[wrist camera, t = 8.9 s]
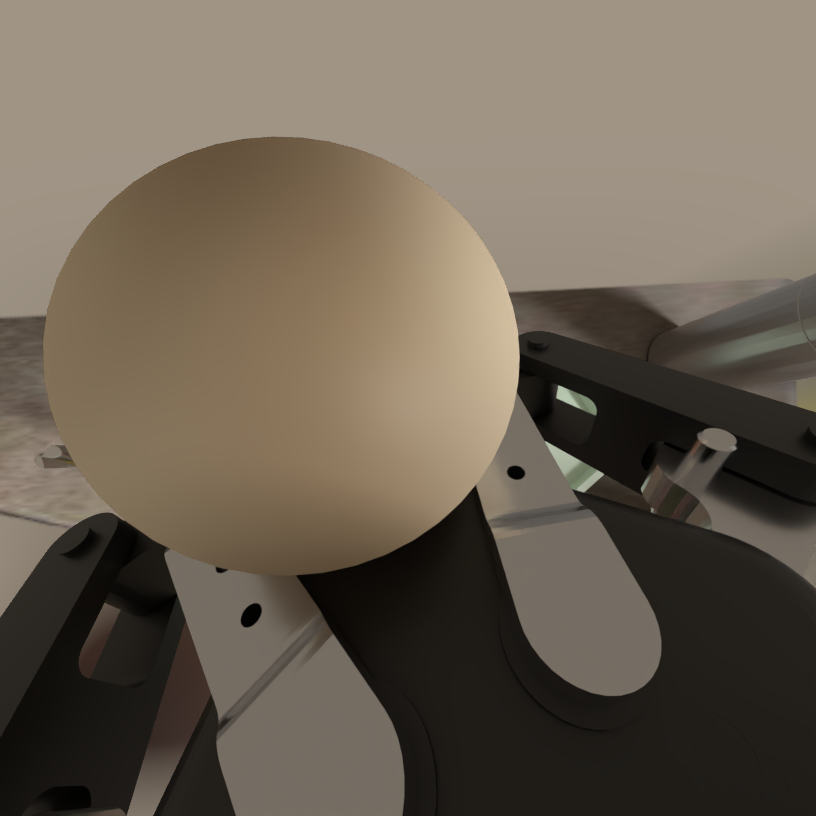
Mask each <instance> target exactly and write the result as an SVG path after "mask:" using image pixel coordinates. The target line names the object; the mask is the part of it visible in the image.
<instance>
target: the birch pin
mask: <svg viewBox="0 0 816 816" xmlns="http://www.w3.org/2000/svg"><path fill="white" fill-rule="evenodd" d="M519 359H520V355H519V341H518V330H517V325H516V320H515V315H514V310H513V306H512V303H511V300H510V297H509V294H508V290H507V287H506V284H505V282H504V280H503V278H502V275H501V273H500V271H499V269H498V267H497V265H496V263H495V261H494V259H493V257H492V256H491V254H490V252H489V251H488V249H487V247H486V246H485V244H484V243H483V241H482V239H481V238H480V237H479V236H478V234H477V233H476V232H475V230H474V229H473V228H472V227H471V225H470V224H469V223H468V222H467V220H466V219H465V218H464V217H463V216H462V215H461V214H460V213H459V212H458V211H457V210H456V209H455V208H454V207H453V206H452V205H451V204H450V203H449V202H448V201H447V200H446V199H445V198H444V197H442V196H441V195H440V194H439V193H437V192H436V191H435V190H434V189H432V188H431V187H430V186H428V185H427V184H426V183H424V182H423V181H421V180H420V179H418V178H417V177H415V176H413V175H412V174H410V173H409V172H407V171H406V170H404V169H402V168H400V167H398V166H396V165H394V164H392V163H390V162H388V161H386V160H384V159H382V158H380V157H377V156H374V155H371V154H369V153H366V152H364V151H361V150H358V149H355V148H352V147H348V146H344V145H340V144H336V143H332V142H327V141H320V140H313V139H306V138H293V137H264V138H251V139H242V140H236V141H231V142H226V143H221V144H216V145H213V146H210V147H206V148H203V149H200V150H197V151H194V152H190V153H188V154H185V155H183V156H181V157H178V158H177V159H174V160H172V161H170V162H168V163H165V164H163V165H161V166H159V167H157V168H156V169H154V170H153V171H151V172H149V173H148V174H146V175H144V176H143V177H141V178H140V179H138V180H136V181H135V182H133V183H132V184H131V185H130V186H128V187H127V188H126V189H125V190H124V191H122V192H121V193H120V194H119V195H117V196H116V197H115V198H114V199H113V200H111V201H110V202H109V203H108V204H107V205H106V207H105V208H104V209H103V210H102V211H101V212H100V213H99V214H98V215H97V216H96V217H95V218H94V219H93V220H92V222H91V223H90V224H89V225H88V226H87V228H86V229H85V231H84V232H83V234H82V235H81V236H80V238H79V239H78V241H77V242H76V244H75V245H74V247H73V248H72V249H71V251H70V253H69V256H68V257H67V259H66V262H65V264H64V266H63V268H62V270H61V272H60V274H59V276H58V278H57V281H56V284H55V287H54V290H53V294H52V297H51V300H50V303H49V307H48V310H47V317H46V324H45V331H44V338H43V366H44V378H45V384H46V389H47V395H48V400H49V406H50V409H51V412H52V415H53V417H54V420H55V423H56V426H57V429H58V431H59V434H60V437H61V439H62V441H63V443H64V445H65V447H66V448H67V450H68V452H69V454H70V456H71V457H72V459H73V461H74V463H75V465H76V467H77V468H78V470H79V471H80V472H81V474H82V475H83V476H84V477H85V479H86V480H87V481H88V483H89V484H90V485H91V486H92V488H93V489H94V490H95V492H96V493H97V494H98V495H99V496H100V497H101V498H102V499H103V500H104V501H105V502H106V503H107V504H108V505H109V506H110V507H111V508H112V509H113V510H114V511H115V512H116V513H117V514H119V515H120V516H121V517H122V518H123V519H124V520H125V521H126V522H128V523H129V524H131V525H132V526H134V527H135V528H137V529H138V530H139V531H141V532H142V533H144V534H145V535H147V536H148V537H149V538H151V539H152V540H154V541H156V542H158V543H160V544H162V545H164V546H166V547H168V548H170V549H172V550H174V551H176V552H178V553H180V554H182V555H184V556H186V557H189V558H192V559H195V560H198V561H201V562H204V563H207V564H210V565H213V566H216V567H219V568H224V569H229V570H235V571H240V572H246V573H251V574H263V575H283V576H292V575H304V574H315V573H324V572H329V571H333V570H338V569H343V568H347V567H352V566H356V565H359V564H361V563H364V562H367V561H370V560H372V559H375V558H378V557H381V556H383V555H386V554H388V553H390V552H392V551H394V550H396V549H398V548H400V547H401V546H403V545H405V544H407V543H409V542H411V541H413V540H415V539H416V538H418V537H419V536H420V535H422V534H423V533H425V532H426V531H428V530H429V529H430V528H432V527H433V526H435V525H436V524H438V523H439V522H440V521H441V520H442V519H443V518H444V517H446V516H447V515H448V514H449V513H450V512H451V511H452V510H453V509H454V508H455V507H457V506H458V505H459V504H460V503H461V502H462V501H463V499H464V498H465V497H466V496H467V495H468V493H469V492H470V491H471V490H472V489H473V487H474V486H475V485H476V484H477V483H478V482H479V480H480V479H481V477H482V476H483V474H484V472H485V471H486V469H487V468H488V466H489V465H490V463H491V461H492V460H493V458H494V457H495V454H496V452H497V450H498V448H499V446H500V444H501V442H502V439H503V437H504V435H505V433H506V430H507V427H508V424H509V421H510V418H511V414H512V411H513V408H514V403H515V397H516V392H517V387H518V378H519Z"/></svg>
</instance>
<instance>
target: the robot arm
mask: <svg viewBox="0 0 816 816" xmlns="http://www.w3.org/2000/svg"><path fill="white" fill-rule="evenodd" d="M518 341H519V355H520V359H519V378H518V387H517V392H516V397H515V403H514V408H513V411H512V414H511V418H510V421H509V424H508V427H507V430H506V433H505V435H504V437H503V439H502V442H501V444H500V446H499V448H498V450H497V452H496V454H495V457H494V458H493V460H492V461H491V463H490V465H489V466H488V468H487V469H486V471H485V472H484V474H483V476H482V477H481V479H480V480H479V482H478V483H477V484H476V485H475V486H474V487H473V489H472V490H471V491H470V492H469V493H468V495H467V496H466V497H465V498H464V499H463V501H462V502H461V503H460V504H459V505H458V506H457V507H455V508H454V509H453V510H452V511H451V512H450V513H449V514H448V515H447V516H446V517H444V518H443V519H442V520H441V521H440V522H439V523H438V524H436V525H435V526H433V527H432V528H430V529H429V530H428V531H426V532H425V533H423V534H422V535H420V536H419V537H418V538H416V539H415V540H413V541H411V542H409V543H407V544H405V545H403V546H401V547H400V548H398V549H396V550H394V551H392V552H390V553H388V554H386V555H383V556H381V557H378V558H375V559H372V560H370V561H367V562H364V563H361V564H359V565H356V566H352V567H347V568H343V569H338V570H333V571H329V572H324V573H315V574H304V575H292V576H283V575H263V574H251V573H246V572H240V571H235V570H229V569H224V568H219V567H216V566H213V565H210V564H207V563H204V562H201V561H198V560H195V559H192V558H189V557H186V556H184V555H182V554H180V553H178V552H176V551H174V550H172V549H170V548H168V547H166V546H164V545H162V544H160V543H158V542H156V541H154V540H152V539H151V538H149V537H148V536H147V535H145V534H144V533H142V532H141V531H139V530H138V529H137V528H135V527H134V526H132V525H131V524H129V523H128V522H126V521H123V520H122V519H120V518H119V517H117V516H116V515H114V514H112V513H100V514H97V515H94V516H91V517H89V518H87V519H85V520H83V521H81V522H79V523H78V524H76V525H75V526H73V527H72V528H70V529H69V530H68V531H66V532H65V533H64V534H63V535H62V536H61V537H60V538H58V540H56V541H55V542H54V543H53V545H52V546H51V547H50V548H49V549H48V551H47V552H46V553H45V555H44V556H43V558H42V559H41V560H40V562H39V563H38V565H37V566H36V567H35V569H34V570H33V572H32V573H31V575H30V576H29V577H28V579H27V580H26V582H25V583H24V585H23V586H22V587H21V589H20V590H19V592H18V593H17V595H16V596H15V598H14V599H13V600H12V602H11V603H10V605H9V606H8V607H7V609H6V610H5V612H4V613H3V615H2V616H1V617H0V816H127V812H128V809H129V806H130V802H131V799H132V796H133V792H134V789H135V786H136V782H137V779H138V776H139V773H140V769H141V765H142V763H143V759H144V756H145V753H146V749H147V746H148V743H149V739H150V736H151V733H152V730H153V726H154V723H155V720H156V716H157V713H158V709H159V706H160V703H161V699H162V696H163V693H164V690H165V686H166V683H167V680H168V677H169V673H170V670H171V667H172V663H173V660H174V657H175V653H176V650H177V647H178V643H179V640H180V637H181V633H182V630H183V627H184V623H185V620H186V621H187V624H188V627H189V630H190V633H191V636H192V638H193V641H194V644H195V647H196V650H197V653H198V656H199V659H200V662H201V664H202V667H203V670H204V673H205V676H206V679H207V682H208V685H209V688H210V691H211V696H210V698H209V700H208V702H207V704H206V707H205V709H204V711H203V713H202V715H201V717H200V719H199V721H198V723H197V725H196V727H195V730H194V732H193V734H192V736H191V738H190V740H189V742H188V744H187V746H186V748H185V751H184V753H183V755H182V757H181V759H180V761H179V763H178V765H177V767H176V769H175V771H174V773H173V775H172V778H171V780H170V782H169V784H168V786H167V788H166V790H165V792H164V795H163V796H162V798H161V801H160V803H159V805H158V807H157V809H156V811H155V813H154V815H153V816H816V588H815V587H814V586H813V585H812V584H811V583H809V582H808V581H807V580H806V579H805V578H804V577H803V575H804V572H805V570H806V567H807V565H808V563H809V560H810V558H811V555H812V553H813V550H814V548H815V546H816V412H813V411H810V410H806V409H803V408H800V407H796V406H793V405H790V404H786V403H783V402H780V401H776V400H773V399H770V398H767V397H763V396H760V395H757V394H753V393H750V392H747V391H743V390H742V389H748V388H754V387H760V386H766V385H772V384H778V383H784V382H790V381H796V380H801V379H808V378H813V377H816V274H813V275H811V276H808V277H805V278H803V279H800V280H798V281H795V282H793V283H790V284H787V285H785V286H782V287H780V288H777V289H775V290H772V291H770V292H767V293H764V294H762V295H759V296H757V297H754V298H752V299H749V300H746V301H744V302H741V303H739V304H736V305H734V306H731V307H728V308H726V309H723V310H721V311H718V312H716V313H713V314H710V315H708V316H705V317H703V318H700V319H698V320H695V321H692V322H690V323H687V324H685V325H682V326H679V327H677V328H674V329H672V330H669V331H667V332H664V333H662V334H660V335H659V336H657V337H656V338H655V339H654V341H653V342H652V344H651V346H650V349H649V354H648V362H647V361H644V360H640V359H637V358H634V357H630V356H627V355H624V354H621V353H617V352H614V351H611V350H607V349H604V348H601V347H597V346H594V345H591V344H587V343H584V342H581V341H577V340H574V339H571V338H567V337H564V336H561V335H557V334H554V333H550V332H545V331H533V332H527V333H524V334H521V335H519V336H518ZM558 385H559V386H561V387H564V388H566V389H569V390H571V391H573V392H576V393H578V394H581V395H583V396H585V397H587V398H589V399H590V400H591V401H592V402H593V403H594V404H595V406H596V409H597V413H596V416H595V415H593V414H591V413H588V412H586V411H584V410H582V409H580V408H577V407H575V406H573V405H571V404H568V403H566V402H564V401H562V400H559V399H557V398H556V397H557V391H558ZM545 441H546V442H548V443H549V444H551V445H553V446H555V447H557V448H558V449H560V450H562V451H564V452H566V453H567V454H569V455H571V456H573V457H574V458H576V459H578V460H580V461H582V462H583V463H585V464H587V465H589V466H591V467H592V468H594V469H596V470H598V471H600V472H601V473H603V474H605V475H607V476H609V477H610V478H612V479H614V480H616V481H617V482H619V483H621V484H623V485H625V486H626V487H628V488H630V489H632V490H634V491H635V492H637V493H639V494H641V495H643V496H644V498H645V500H646V501H647V503H648V504H649V505H650V506H651V507H652V508H651V512H648V511H645V510H642V509H638V508H635V507H631V506H628V505H625V504H621V503H618V502H614V501H611V500H608V499H604V498H601V497H598V496H594V495H591V494H587V493H584V492H581V491H577V490H574V489H571V487H570V485H569V483H568V482H567V480H566V478H565V476H564V475H563V473H562V471H561V469H560V468H559V466H558V464H557V462H556V461H555V459H554V457H553V455H552V453H551V452H550V450H549V448H548V446H547V445H546V443H545ZM104 603H106V604H108V605H111V606H113V607H115V608H118V609H120V610H121V611H120V613H119V615H118V618H117V620H116V622H115V624H114V626H113V628H112V631H111V633H110V635H109V637H108V640H107V642H106V644H105V646H104V649H103V651H102V653H101V655H100V657H99V660H98V662H97V664H96V666H95V669H94V671H93V673H92V675H91V678H87V677H84V676H83V675H82V674H81V672H80V670H79V664H78V662H79V655H80V652H81V649H82V647H83V645H84V643H85V641H86V639H87V637H88V635H89V633H90V631H91V629H92V627H93V625H94V623H95V621H96V619H97V617H98V615H99V613H100V611H101V609H102V607H103V604H104Z"/></svg>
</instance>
